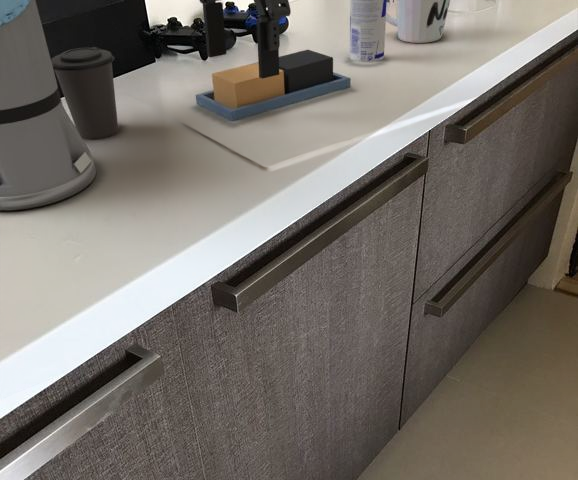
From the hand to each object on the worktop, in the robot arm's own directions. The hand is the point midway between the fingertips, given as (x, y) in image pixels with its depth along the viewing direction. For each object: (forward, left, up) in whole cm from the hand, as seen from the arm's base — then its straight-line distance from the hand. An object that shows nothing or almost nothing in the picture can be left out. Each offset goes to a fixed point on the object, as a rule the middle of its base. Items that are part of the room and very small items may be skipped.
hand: (242, 65), depth 91 cm
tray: (+5, 0, -6) cm, 7 cm away
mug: (+42, +11, -6) cm, 44 cm away
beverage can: (+27, +5, -6) cm, 28 cm away
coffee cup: (-20, +6, -6) cm, 22 cm away
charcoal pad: (+9, 0, -5) cm, 11 cm away
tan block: (+1, 0, -5) cm, 5 cm away
